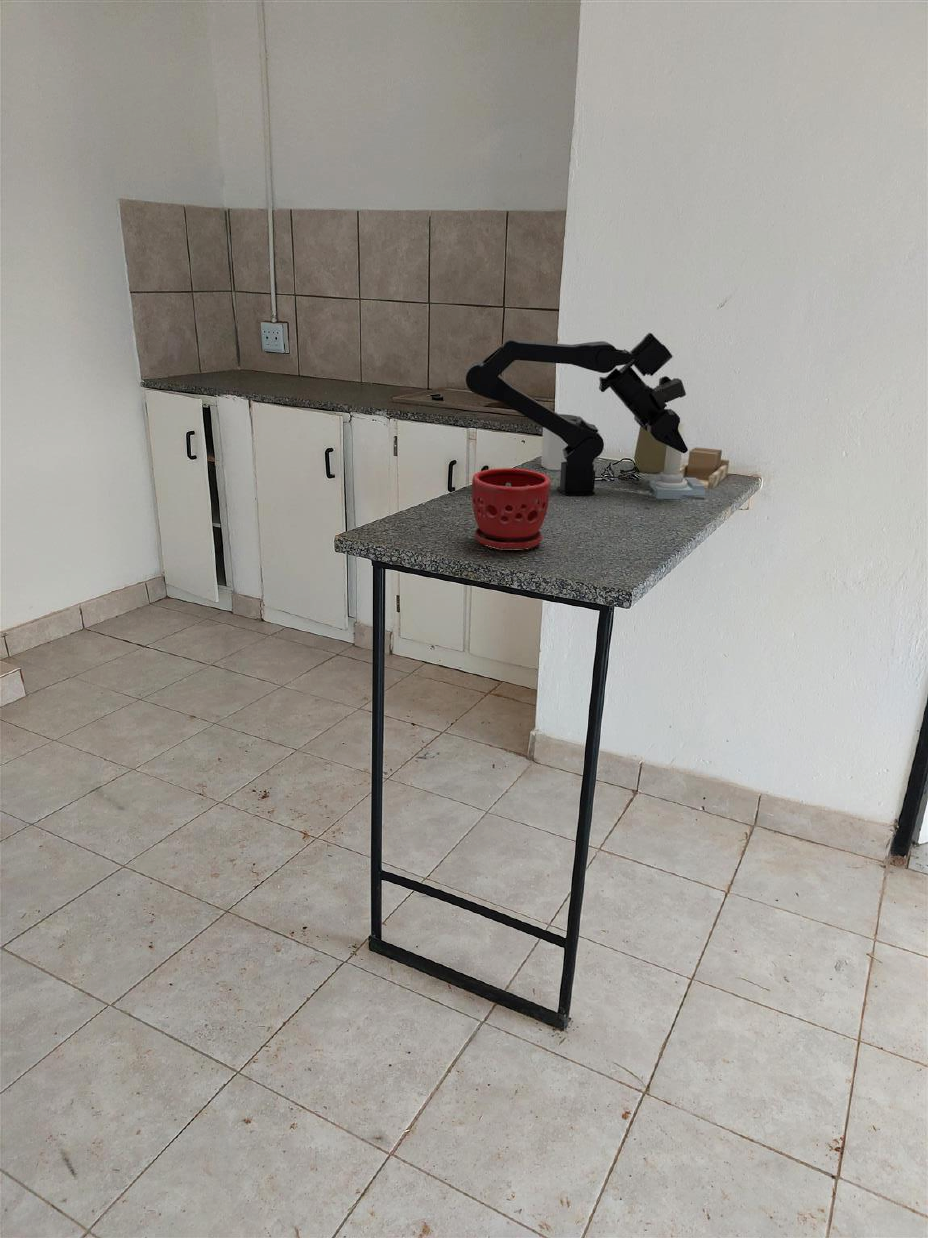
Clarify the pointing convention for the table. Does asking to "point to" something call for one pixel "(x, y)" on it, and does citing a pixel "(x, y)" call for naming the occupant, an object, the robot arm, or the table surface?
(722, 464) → the bay
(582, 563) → the table surface
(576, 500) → the table surface
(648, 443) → the squeeze bottle
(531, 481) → the plant pot
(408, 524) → the table surface
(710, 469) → the box
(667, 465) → the crank handle
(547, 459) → the jar
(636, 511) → the table surface
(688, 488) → the grey socket base
